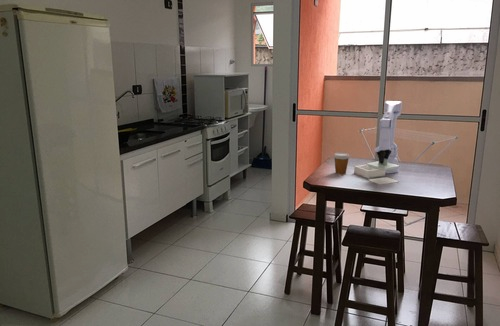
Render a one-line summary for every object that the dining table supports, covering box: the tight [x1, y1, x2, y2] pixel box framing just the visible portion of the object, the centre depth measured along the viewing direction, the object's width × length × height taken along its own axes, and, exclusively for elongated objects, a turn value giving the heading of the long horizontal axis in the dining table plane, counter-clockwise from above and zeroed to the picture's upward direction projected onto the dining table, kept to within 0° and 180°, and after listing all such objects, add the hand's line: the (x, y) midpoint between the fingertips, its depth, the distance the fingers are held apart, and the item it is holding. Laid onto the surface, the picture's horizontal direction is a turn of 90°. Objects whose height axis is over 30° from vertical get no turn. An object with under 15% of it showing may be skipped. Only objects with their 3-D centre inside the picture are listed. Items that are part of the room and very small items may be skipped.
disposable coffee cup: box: [333, 152, 350, 175], centre depth 257 cm, size 10×10×12 cm
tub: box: [353, 164, 386, 179], centre depth 254 cm, size 13×13×4 cm
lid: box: [365, 158, 400, 171], centre depth 240 cm, size 13×13×5 cm
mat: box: [368, 176, 400, 186], centre depth 241 cm, size 14×10×1 cm
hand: (382, 162), depth 240 cm, fingers closed on lid, 2 cm apart
